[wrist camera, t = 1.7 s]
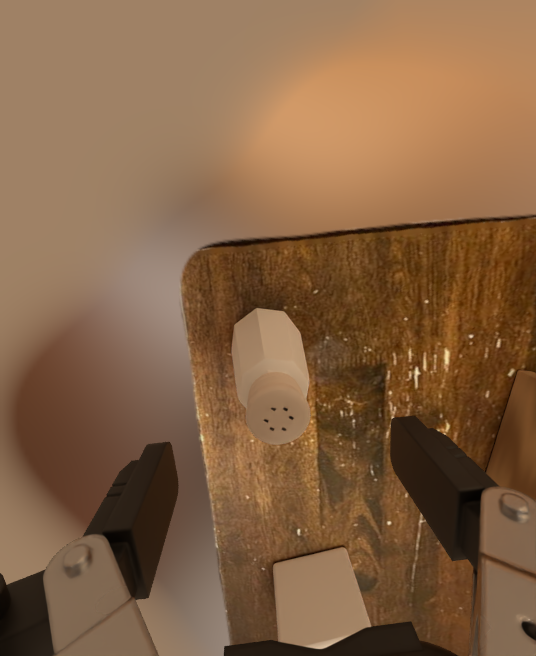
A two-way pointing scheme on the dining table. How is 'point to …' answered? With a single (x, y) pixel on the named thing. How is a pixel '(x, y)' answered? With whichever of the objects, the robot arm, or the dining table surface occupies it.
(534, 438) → the shelf
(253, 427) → the pepper shaker
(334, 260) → the dining table surface
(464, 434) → the dining table surface
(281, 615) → the medicine bottle
